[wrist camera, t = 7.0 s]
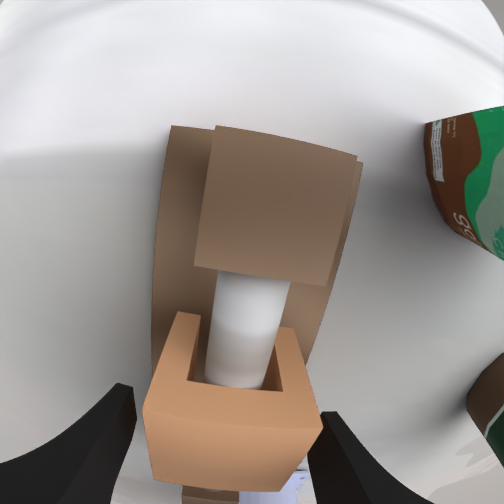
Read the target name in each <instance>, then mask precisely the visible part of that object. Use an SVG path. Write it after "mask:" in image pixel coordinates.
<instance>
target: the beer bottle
mask: <svg viewBox="0 0 504 504" xmlns="http://www.w3.org/2000/svg"><path fill="white" fill-rule="evenodd" d="M467 411H468V413H469V415H470V416H471V418H472V420H473V421H474V423H475V424H476V426H477V427H478V429H479V430H480V432H481V433H482V435H483V436H484V438H485V439H486V440H487V442H488V443H489V445H490V446H491V448H492V450H493V451H494V453H495V454H496V456H497V458H498V459H499V461H500V462H501V464H502V466H503V467H504V353H503V354H501V355H500V356H499V357H498V358H497V359H496V360H495V361H494V362H493V363H492V364H491V365H490V366H488V367H487V368H486V369H485V370H484V371H483V372H482V374H481V375H480V377H479V378H478V380H477V381H476V383H475V384H474V386H473V387H472V388H471V390H470V391H469V393H468V396H467Z"/></svg>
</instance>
